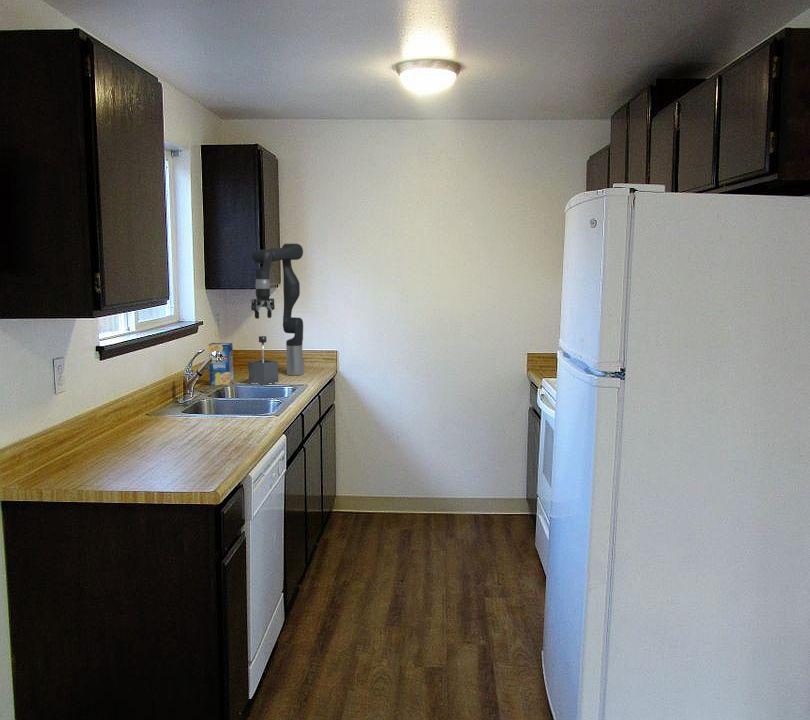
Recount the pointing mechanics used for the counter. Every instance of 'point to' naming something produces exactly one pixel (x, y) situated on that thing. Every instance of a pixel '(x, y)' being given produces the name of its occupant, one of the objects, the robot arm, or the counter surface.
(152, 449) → the counter surface
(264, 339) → the plunger
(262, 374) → the gray open box
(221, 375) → the beverage box
